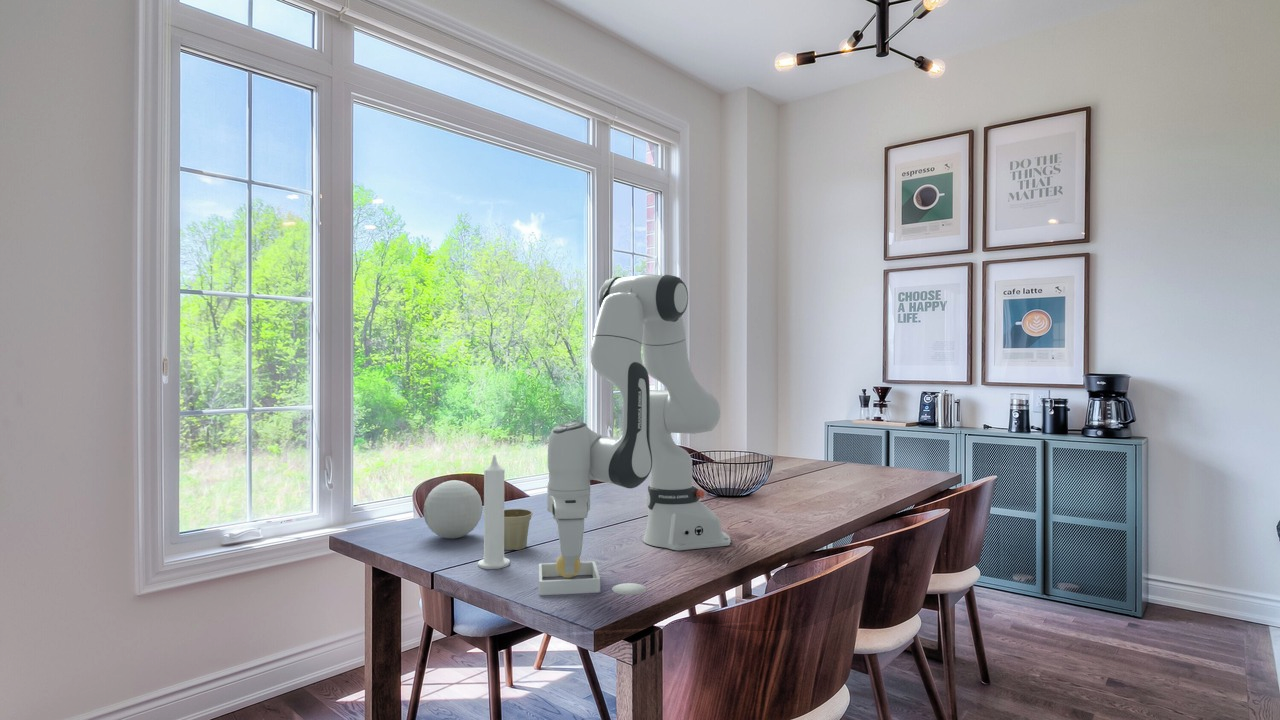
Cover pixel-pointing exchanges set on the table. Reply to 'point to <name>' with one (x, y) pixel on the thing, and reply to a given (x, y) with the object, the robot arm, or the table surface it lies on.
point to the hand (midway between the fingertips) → (568, 568)
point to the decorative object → (452, 509)
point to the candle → (494, 518)
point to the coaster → (629, 589)
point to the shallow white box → (569, 580)
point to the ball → (561, 567)
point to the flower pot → (516, 528)
